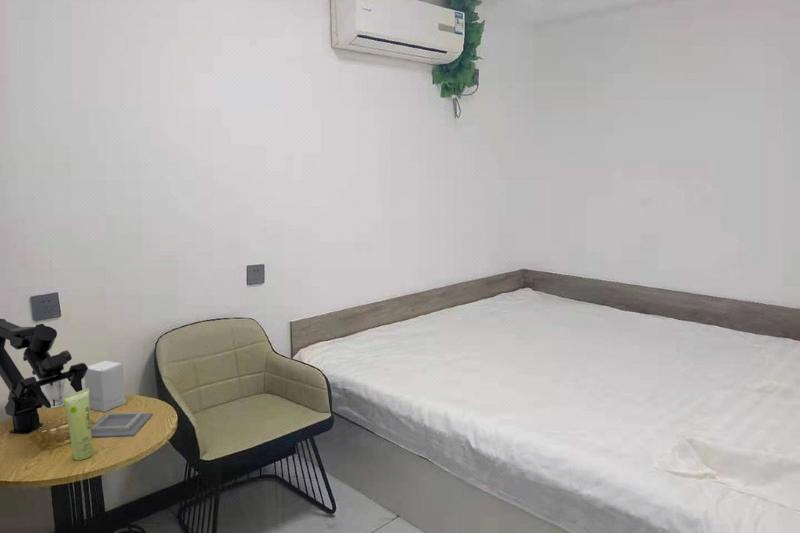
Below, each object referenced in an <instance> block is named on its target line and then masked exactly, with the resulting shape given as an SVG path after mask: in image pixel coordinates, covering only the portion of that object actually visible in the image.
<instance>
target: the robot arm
mask: <svg viewBox="0 0 800 533" xmlns="http://www.w3.org/2000/svg"><path fill="white" fill-rule="evenodd" d="M57 336H58V331H57V330H56V329H54V327H51V326H48V325H45V324H44V323H39V324H35V326H20V325H17V324H14V323H12V322H9V321H7V320H6V319H5V318H0V377H1V379H2V381H3V382H4V384H5V386H6V387H7V388H8V397H7V400H8V401H7V402H6V404H5V406H4V409H5V413H6V415H8V416H10V417H11V418H12V424H13V425H12V426H13V429H10V431H9V433H10V434H30V433H31V432H33V431H35V430H37V429H38V427H39V426H40V427H42V426H43V425H44V424H43V422H41V423H40V415H39V412H38V409H42V408H43V406H44V407H46V408H48V409H51V408H50V407H51V404H50V402H49V400H48V399H47V396H46V394H45V393H44V392H43V390H42V388H41V387H44V386H43V385H46V384H50V383H53V382H57V381H60V380H63V379H65V380H66V379H67V380H68V382H70V383H69V385H70V386H71V387H72V389H73V390H74V391H75V393H76V392H79V391H82V390H84V389H83V383H82V380H83V379H85V378H84V376H85V374H86V372H87V370H88V367H87V366H88V365H87V364H86V363H85V362H79V363H76V364H72V365H70V367H69V369H68V371H65V372H64V373H62V372H61V370H63V369H64V370H65V365H67V364H68V362H70V361H72V358H73V356H72V355H71V353H70V351H69V350H68V349H67V350H62V351H61V352H59V354H55V355H51V354H50V352H49V351H50V350H52V347H53V345H54V343H55V341H56V338H57ZM6 340H7V341H9V343H10V344H9V345H10V346H11V347H12V348H14V349H15V350H17V351H18V350H21V349H25V350H24V352H23V357H22V358H23V359H22V360H23V361H24V362H25V361H27V363H28V364H29V366H30V367H31V369H32V371H31V374H32V375H33V376H30V377H27V378H26V377H24V376H23V374H22V373H21V371H20V370H19V369H18V367H17V365H16V364H15V362H14V361H13V359H12V357H11V356H10V355H9V353H8V351H7V350H6V348H5V347H6V346H5V345H6ZM63 366H64V367H63ZM35 375H36V377H37V378H38V379H36V377H35ZM41 425H42V426H41ZM40 427H39V428H40Z"/></svg>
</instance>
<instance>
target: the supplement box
mask: <svg viewBox="0 0 800 533" xmlns="http://www.w3.org/2000/svg"><path fill="white" fill-rule="evenodd" d="M87 367H88V370H87V372H86V374H85V376H84V378H83V379H84V386H85V389H87V388H89V405H90V410H94V411H99V412H102V413H105V412H106V413H107V412H108V411H111V410H113V409H115V408H118V407H119V406H122V405H124V404H127V403H126V402H127V400H126V389H125V381H124V380H125V379H124V378H125V377H124V368H123V363H122V362H115V361H109V360H103V361H100V362H97V363H94V364H91V365H87Z"/></svg>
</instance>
